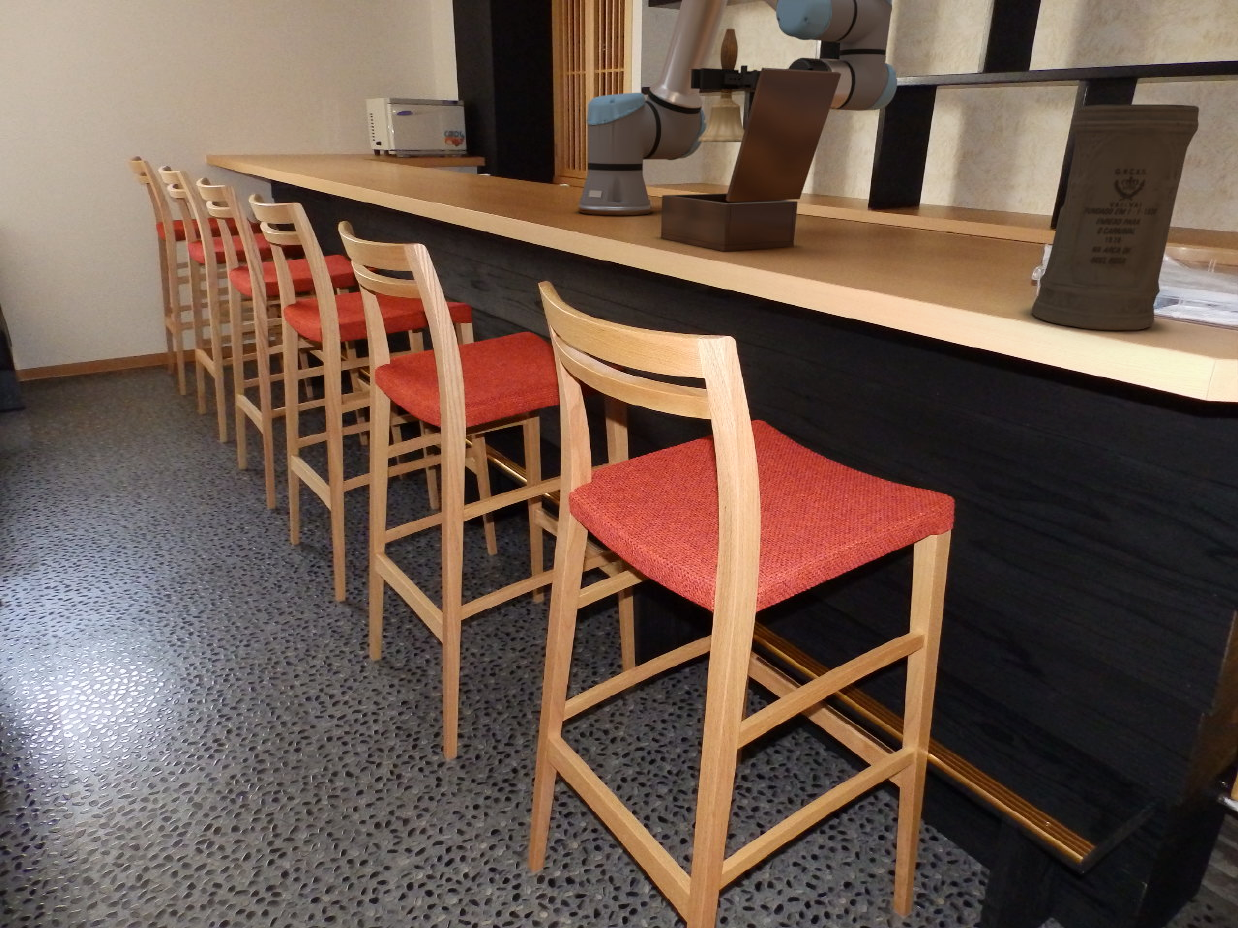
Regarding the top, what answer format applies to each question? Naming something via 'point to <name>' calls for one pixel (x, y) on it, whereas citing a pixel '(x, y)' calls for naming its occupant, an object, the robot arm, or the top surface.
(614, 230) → the top surface
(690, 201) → the chest
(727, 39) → the wooden handled brush
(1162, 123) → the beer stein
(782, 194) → the chest lid
